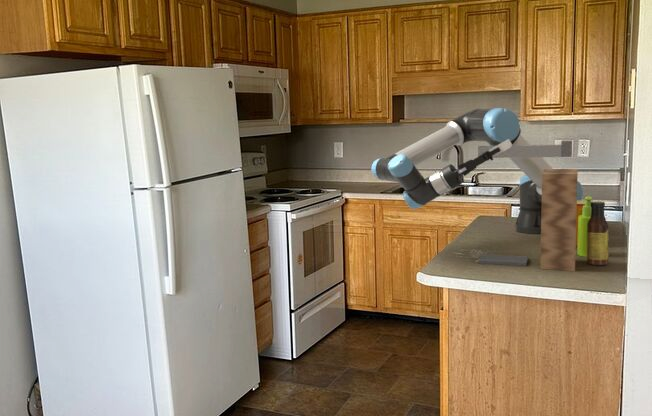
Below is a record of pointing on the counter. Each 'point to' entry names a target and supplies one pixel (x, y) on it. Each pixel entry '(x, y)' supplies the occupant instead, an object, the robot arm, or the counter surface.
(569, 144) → the pin
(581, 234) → the soap dispenser
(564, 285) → the counter surface
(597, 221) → the sauce bottle
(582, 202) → the baking soda box
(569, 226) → the brown wooden block
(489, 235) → the counter surface
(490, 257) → the base plate
